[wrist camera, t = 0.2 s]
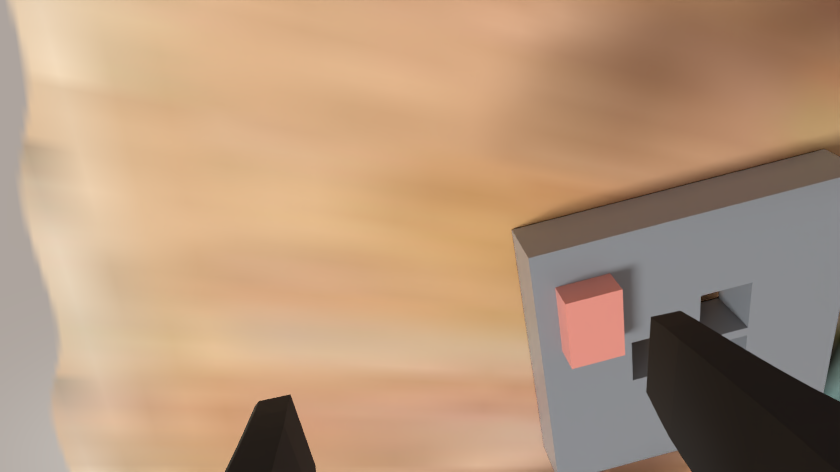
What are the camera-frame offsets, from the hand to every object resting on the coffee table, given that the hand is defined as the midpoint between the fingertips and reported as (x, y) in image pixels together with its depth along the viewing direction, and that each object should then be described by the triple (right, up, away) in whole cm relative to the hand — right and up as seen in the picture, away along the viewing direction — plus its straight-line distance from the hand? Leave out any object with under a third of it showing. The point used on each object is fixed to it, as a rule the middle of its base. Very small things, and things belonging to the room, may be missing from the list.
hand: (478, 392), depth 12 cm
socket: (+9, 0, +13) cm, 16 cm away
